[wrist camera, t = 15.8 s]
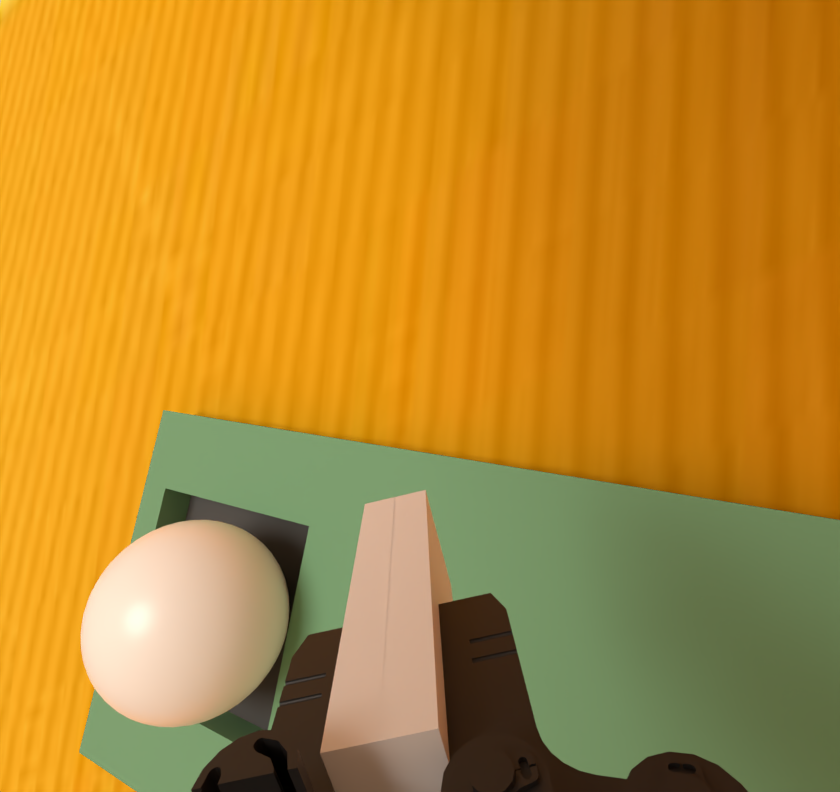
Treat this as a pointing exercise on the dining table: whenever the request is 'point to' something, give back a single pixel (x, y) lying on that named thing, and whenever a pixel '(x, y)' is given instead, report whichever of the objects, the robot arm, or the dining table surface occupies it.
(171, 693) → the ball
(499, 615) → the robot arm
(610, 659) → the putting board
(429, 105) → the dining table surface
